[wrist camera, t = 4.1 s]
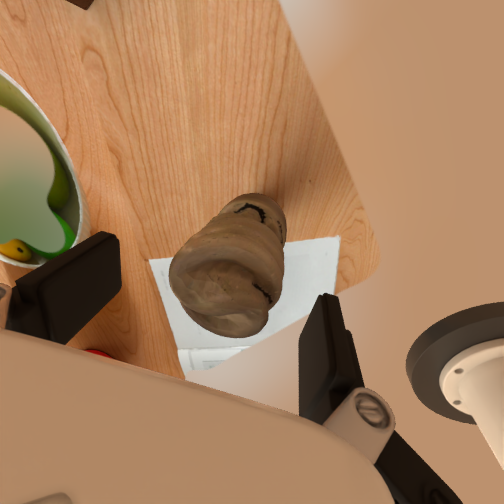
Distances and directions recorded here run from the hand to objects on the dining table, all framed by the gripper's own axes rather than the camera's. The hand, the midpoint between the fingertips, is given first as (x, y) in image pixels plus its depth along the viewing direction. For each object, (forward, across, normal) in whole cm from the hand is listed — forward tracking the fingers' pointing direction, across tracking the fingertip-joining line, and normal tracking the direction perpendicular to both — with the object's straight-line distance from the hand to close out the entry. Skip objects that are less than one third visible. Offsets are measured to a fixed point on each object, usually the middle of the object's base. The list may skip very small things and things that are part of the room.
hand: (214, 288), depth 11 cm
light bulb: (+14, -1, 0) cm, 14 cm away
